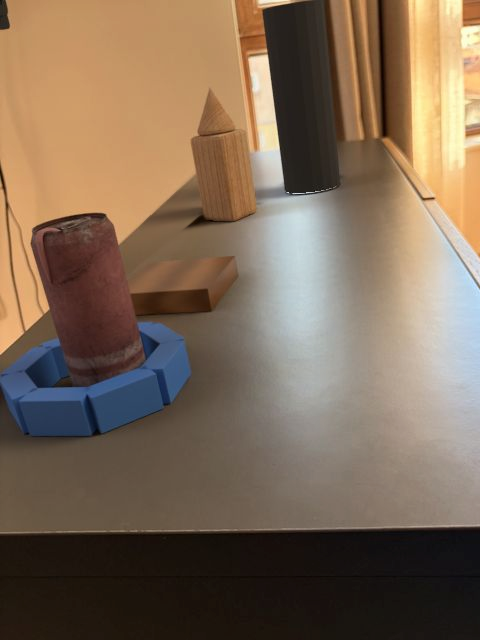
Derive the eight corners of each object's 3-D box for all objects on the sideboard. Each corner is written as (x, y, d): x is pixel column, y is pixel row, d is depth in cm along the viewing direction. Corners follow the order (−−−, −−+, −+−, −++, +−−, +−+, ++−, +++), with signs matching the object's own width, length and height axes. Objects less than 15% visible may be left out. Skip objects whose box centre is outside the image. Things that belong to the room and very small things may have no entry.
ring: (-23, 436, 48) (-36, 402, 47) (67, 355, 60) (58, 326, 59) (149, 436, 45) (139, 399, 43) (207, 350, 57) (201, 318, 56)
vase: (342, 179, 121) (326, 1, 109) (338, 191, 112) (320, -3, 100) (288, 185, 123) (267, 11, 111) (280, 197, 114) (256, 9, 102)
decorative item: (203, 221, 105) (179, 91, 97) (228, 211, 110) (208, 86, 101) (234, 222, 101) (212, 87, 93) (259, 211, 106) (240, 81, 98)
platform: (114, 316, 69) (109, 294, 68) (152, 281, 78) (148, 262, 77) (211, 311, 66) (207, 288, 65) (238, 276, 75) (235, 255, 74)
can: (59, 406, 51) (5, 234, 45) (105, 370, 56) (62, 211, 50) (123, 412, 48) (74, 231, 43) (164, 373, 54) (126, 207, 48)
